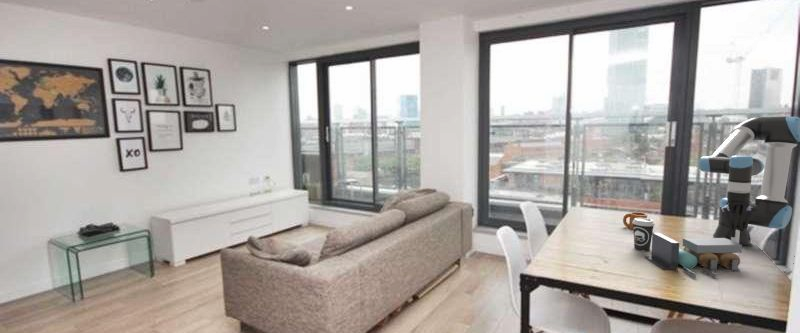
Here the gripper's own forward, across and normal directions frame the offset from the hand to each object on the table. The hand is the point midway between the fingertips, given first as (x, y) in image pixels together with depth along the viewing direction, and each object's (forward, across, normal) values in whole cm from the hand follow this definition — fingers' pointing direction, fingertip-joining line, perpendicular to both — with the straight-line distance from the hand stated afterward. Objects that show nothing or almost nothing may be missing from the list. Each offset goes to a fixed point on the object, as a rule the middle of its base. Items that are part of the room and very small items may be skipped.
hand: (734, 244), depth 173 cm
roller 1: (+9, +22, 0) cm, 23 cm away
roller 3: (+9, +6, 0) cm, 10 cm away
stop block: (+9, +31, 0) cm, 32 cm away
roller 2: (+9, +14, 0) cm, 17 cm away
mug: (+9, +13, -58) cm, 60 cm away
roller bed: (+9, +15, +4) cm, 18 cm away
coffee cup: (+9, +28, -20) cm, 36 cm away
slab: (+2, +10, 0) cm, 10 cm away
